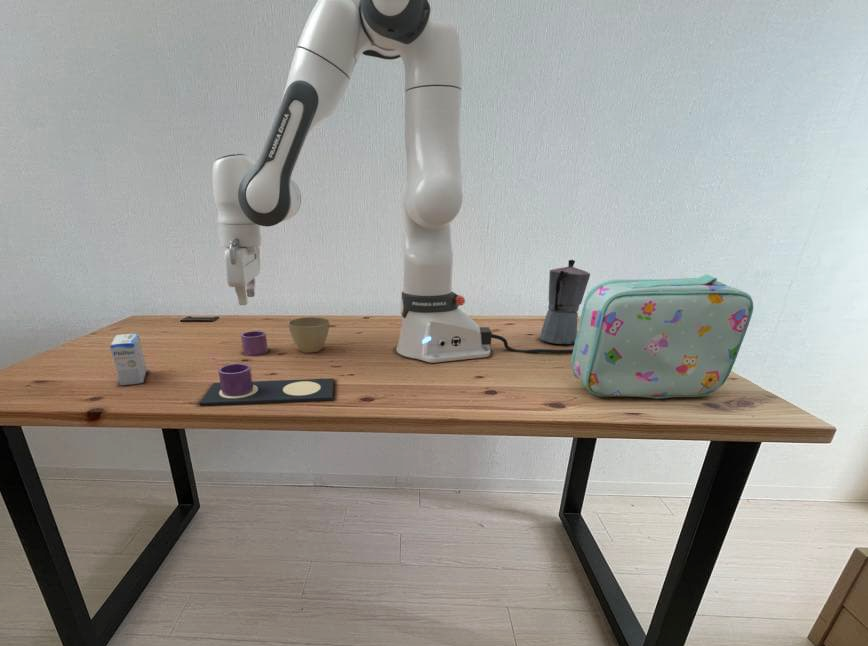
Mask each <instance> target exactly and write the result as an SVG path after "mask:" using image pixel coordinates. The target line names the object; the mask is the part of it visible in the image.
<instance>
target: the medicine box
mask: <svg viewBox="0 0 868 646" xmlns="http://www.w3.org/2000/svg"><path fill="white" fill-rule="evenodd" d="M109 347H110V351H111V355H112V359H113V363H114V366H115V371H116V375H117V378H118V382H119V385H120V386H130V385H131V386H132V385H139V384H143V383H144V382H145V377H146V373H147V365H146V360H145V356H144V351H143V347H142V343H141V338H140V335H139V333H123V334H116V335H115V336H114V338H113V340H112V342H111V343H110V346H109Z"/></svg>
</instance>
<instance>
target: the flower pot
mask: <svg viewBox="0 0 868 646" xmlns="http://www.w3.org/2000/svg"><path fill="white" fill-rule="evenodd" d="M330 322H331V321H330V319H328V318H324V317H317V316H306V317H304V316H303V317H297V318H293V319H290V320H289V321H287V326H288V330H289V333H290V335H291V338H292V341H293V342H294V344H295V345H296V347H297V348H298V350H299V351H300V352H301V353H306V354H314V353H318V352H320V351H321V350H322V349H323V347H324V346H325V343H326V340H327V339H328V334H329V330H330Z"/></svg>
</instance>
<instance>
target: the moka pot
mask: <svg viewBox="0 0 868 646" xmlns="http://www.w3.org/2000/svg"><path fill="white" fill-rule="evenodd" d="M575 263H576V260H575V259H568V266H565V267H559V268H558V267H557V268H553V269H550V270H549V276H548V277H549V278H548V281H549V282H548V307H547V309H548V310H547V312H546V315H545V318H544V321H543V325H542V328H541V331H540V334H539V339H540V340H541V341H543V342H544V343H550V344H555V345H573V344H575V340H576V337H577V332H578V320H579V319H578V317H579V313H578V311H579V309H580V305H581V304H582V302H583V299H584V297H585V296H584V295H585V293H586V289H587V286H588V284H589V280H590V277H591V273H590V272H589V271H586V270H583V269H580V268H578V267H575Z"/></svg>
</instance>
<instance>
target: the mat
mask: <svg viewBox="0 0 868 646" xmlns="http://www.w3.org/2000/svg"><path fill="white" fill-rule="evenodd" d="M334 379H335V378H331V377H329V378H308V379H307V378H305V379H281V380H278V379H277V380H255V381H254V380H253V391H252V392H250V393H248V394H246V395H242V396H226V395H223V394H222V390H221V385H220V382H213V383H212V384H211V386H210V388H208V390H207V391H206V393H205V395H204V396H203V397H202V399H201V400H200V401H199V406H201V407H203V406H205V407H207V406H226V405H227V406H229V405H253V404H277V403H297V402H298V403H300V402H322V401H323V402H324V401H325V402H326V401H333V400H334V384H335V383H334V381H335V380H334Z"/></svg>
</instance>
